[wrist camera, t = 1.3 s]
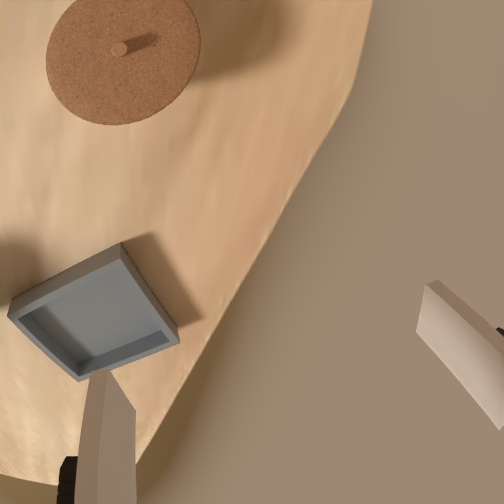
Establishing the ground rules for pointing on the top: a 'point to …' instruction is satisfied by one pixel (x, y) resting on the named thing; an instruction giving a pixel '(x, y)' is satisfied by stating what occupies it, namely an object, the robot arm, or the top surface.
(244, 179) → the top surface
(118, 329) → the gray tray
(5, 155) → the top surface
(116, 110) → the lidded jar
